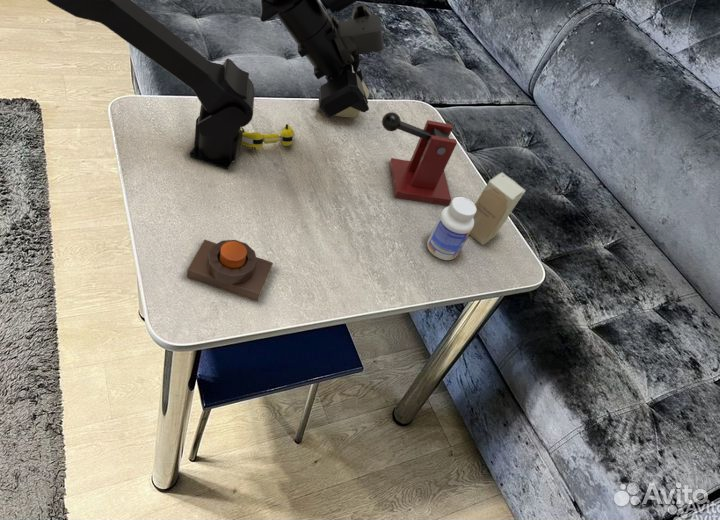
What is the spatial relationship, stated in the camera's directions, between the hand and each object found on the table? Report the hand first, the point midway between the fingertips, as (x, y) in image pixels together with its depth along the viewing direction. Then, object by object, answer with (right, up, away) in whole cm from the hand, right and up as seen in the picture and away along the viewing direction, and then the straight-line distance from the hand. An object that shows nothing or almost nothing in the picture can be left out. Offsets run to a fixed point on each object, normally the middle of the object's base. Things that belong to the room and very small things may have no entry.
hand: (365, 107), depth 92 cm
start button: (-18, -24, -13) cm, 33 cm away
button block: (-19, -26, -11) cm, 34 cm away
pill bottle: (+12, -22, +4) cm, 26 cm away
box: (+19, -19, +9) cm, 29 cm away
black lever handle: (+7, -4, +5) cm, 10 cm away
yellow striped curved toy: (-17, -4, +9) cm, 20 cm away
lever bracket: (+10, -10, +13) cm, 19 cm away
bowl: (0, +5, +18) cm, 19 cm away
